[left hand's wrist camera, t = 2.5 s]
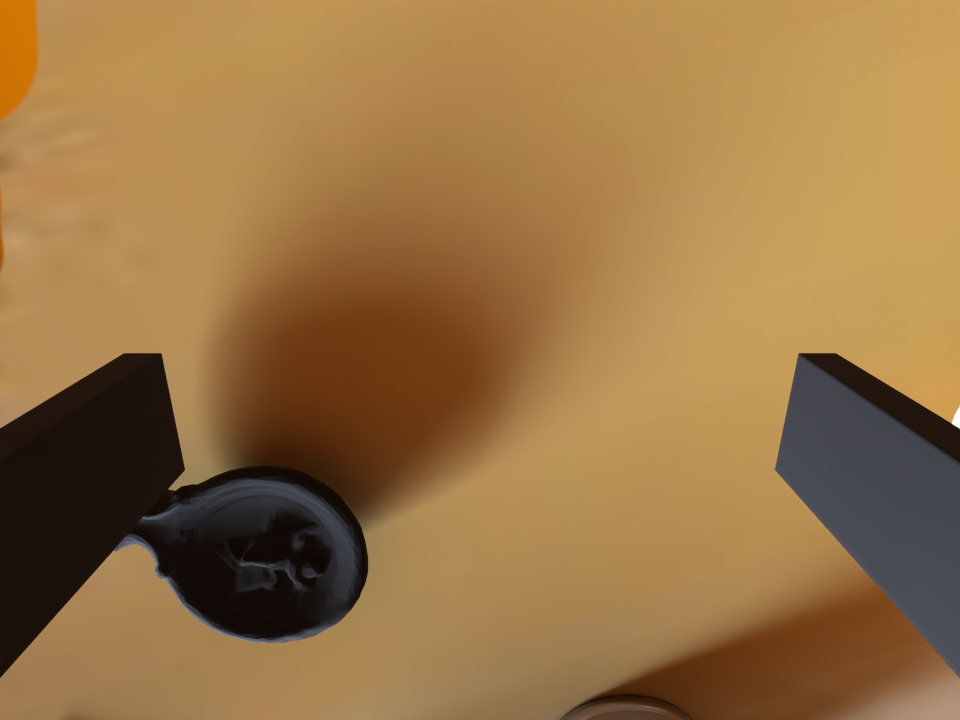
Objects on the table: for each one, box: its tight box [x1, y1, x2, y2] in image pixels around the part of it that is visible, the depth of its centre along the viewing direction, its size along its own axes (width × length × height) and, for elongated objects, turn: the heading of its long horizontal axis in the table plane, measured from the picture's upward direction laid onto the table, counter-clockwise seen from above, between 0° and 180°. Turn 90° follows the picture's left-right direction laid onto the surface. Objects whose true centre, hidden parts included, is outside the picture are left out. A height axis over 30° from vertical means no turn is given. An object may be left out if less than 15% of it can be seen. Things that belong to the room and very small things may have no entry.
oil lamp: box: [114, 466, 368, 643], centre depth 44 cm, size 15×20×5 cm
